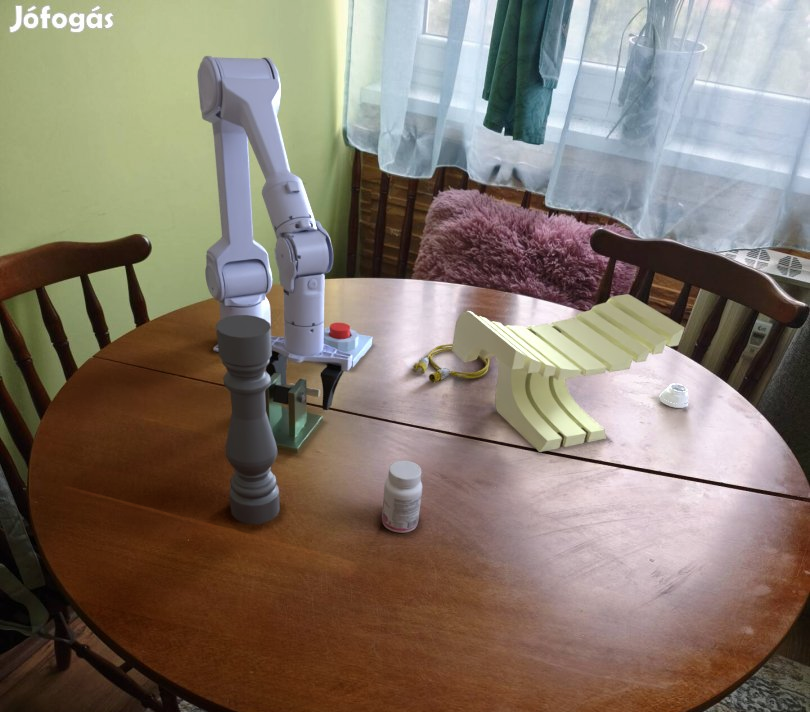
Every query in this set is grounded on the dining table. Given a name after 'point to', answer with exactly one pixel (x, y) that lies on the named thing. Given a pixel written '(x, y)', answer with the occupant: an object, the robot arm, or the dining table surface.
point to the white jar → (675, 396)
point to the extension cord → (445, 372)
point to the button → (339, 331)
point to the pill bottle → (402, 497)
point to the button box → (350, 344)
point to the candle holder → (249, 417)
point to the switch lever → (283, 390)
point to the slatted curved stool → (562, 363)
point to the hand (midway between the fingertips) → (304, 401)
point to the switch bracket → (290, 416)
